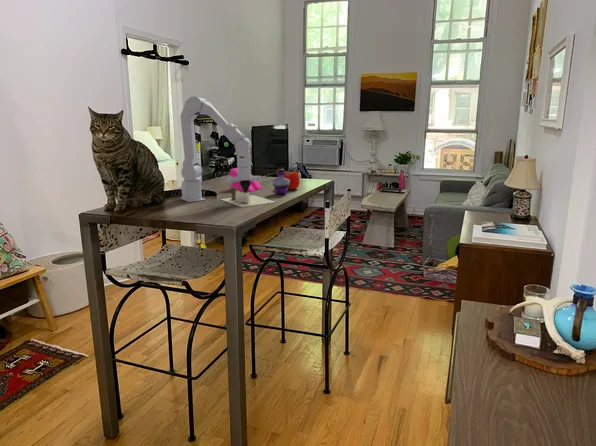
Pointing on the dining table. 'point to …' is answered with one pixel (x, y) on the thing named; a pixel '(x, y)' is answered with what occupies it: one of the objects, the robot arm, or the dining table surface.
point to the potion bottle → (281, 183)
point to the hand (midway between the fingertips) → (245, 198)
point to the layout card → (253, 201)
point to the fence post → (233, 193)
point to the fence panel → (243, 196)
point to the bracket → (237, 185)
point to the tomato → (292, 180)
